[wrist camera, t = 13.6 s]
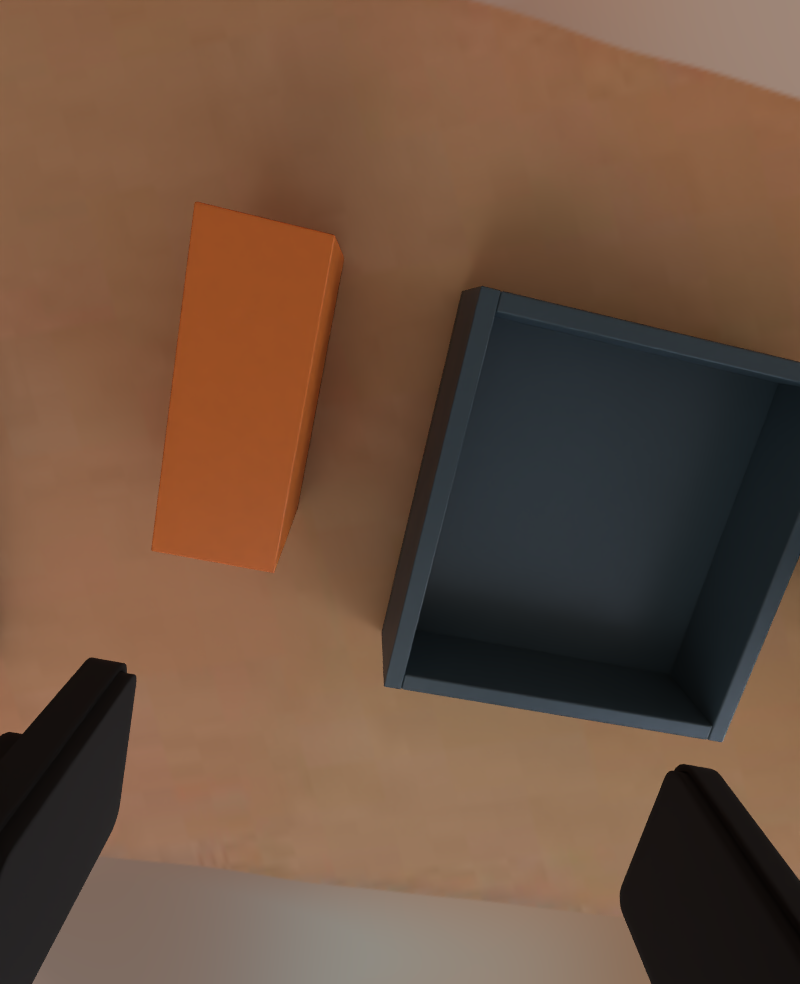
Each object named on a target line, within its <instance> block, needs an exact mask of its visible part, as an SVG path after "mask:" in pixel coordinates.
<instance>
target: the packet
mask: <svg viewBox="0 0 800 984" xmlns="http://www.w3.org/2000/svg"><path fill="white" fill-rule="evenodd" d="M343 262H344V257H343V254H342V252H341V249H340V247H339V244H338V242H337V240H336V237H335V235H333V234H329V233H324V232H320V231H316V230H312V229H308V228H304V227H300V226H296V225H291V224H287V223H283V222H279V221H275V220H271V219H267V218H262V217H258V216H254V215H250V214H246V213H242V212H238V211H234V210H229V209H225V208H221V207H217V206H213V205H209V204H205V203H201V202H195V204H194V212H193V220H192V228H191V236H190V244H189V252H188V260H187V268H186V276H185V284H184V292H183V300H182V308H181V316H180V324H179V332H178V340H177V348H176V356H175V364H174V372H173V380H172V389H171V397H170V405H169V413H168V421H167V429H166V437H165V445H164V453H163V461H162V469H161V477H160V485H159V493H158V501H157V509H156V517H155V525H154V533H153V541H152V551H156V552H161V553H167V554H172V555H178V556H183V557H189V558H194V559H200V560H205V561H211V562H216V563H222V564H227V565H233V566H238V567H244V568H249V569H255V570H260V571H265V572H271V573H274V572H275V569H276V566H277V564H278V561H279V558H280V555H281V553H282V550H283V547H284V544H285V542H286V539H287V536H288V533H289V531H290V528H291V525H292V522H293V520H294V517H295V514H296V511H297V509H298V504H299V498H300V493H301V487H302V482H303V477H304V471H305V466H306V461H307V455H308V450H309V445H310V439H311V434H312V428H313V423H314V418H315V412H316V407H317V402H318V396H319V391H320V386H321V380H322V375H323V369H324V364H325V359H326V353H327V348H328V343H329V337H330V332H331V327H332V321H333V316H334V310H335V305H336V300H337V294H338V289H339V284H340V278H341V273H342V268H343Z"/></svg>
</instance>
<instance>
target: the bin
mask: <svg viewBox="0 0 800 984" xmlns="http://www.w3.org/2000/svg"><path fill="white" fill-rule="evenodd" d="M799 556H800V362H797V361H793V360H789V359H785V358H781V357H776V356H772V355H768V354H764V353H760V352H756V351H751V350H747V349H743V348H739V347H735V346H730V345H726V344H722V343H718V342H714V341H710V340H705V339H701V338H697V337H693V336H689V335H684V334H680V333H676V332H672V331H668V330H664V329H659V328H655V327H651V326H647V325H643V324H638V323H634V322H630V321H626V320H622V319H618V318H613V317H609V316H605V315H601V314H597V313H592V312H588V311H584V310H580V309H576V308H572V307H567V306H563V305H559V304H555V303H551V302H547V301H542V300H538V299H534V298H530V297H526V296H521V295H517V294H513V293H509V292H505V291H500V290H497V289H493V288H488V287H484V286H480V287H477V288H473V289H469V290H465V291H462V294H461V298H460V302H459V306H458V310H457V315H456V319H455V323H454V327H453V332H452V336H451V340H450V344H449V349H448V353H447V357H446V361H445V366H444V370H443V374H442V378H441V383H440V387H439V391H438V395H437V400H436V404H435V408H434V412H433V417H432V421H431V425H430V429H429V434H428V438H427V442H426V446H425V450H424V455H423V459H422V463H421V467H420V472H419V476H418V480H417V484H416V489H415V493H414V497H413V501H412V506H411V510H410V514H409V518H408V523H407V527H406V531H405V535H404V540H403V544H402V548H401V552H400V557H399V561H398V565H397V569H396V574H395V578H394V582H393V586H392V591H391V595H390V599H389V603H388V607H387V612H386V616H385V620H384V624H383V629H382V652H383V675H384V686H385V687H390V688H396V689H401V687H402V689H405V690H411V691H417V692H423V693H429V694H435V695H441V696H447V697H453V698H459V699H465V700H471V701H477V702H483V703H489V704H495V705H501V706H507V707H513V708H519V709H525V710H531V711H537V712H543V713H549V714H555V715H561V716H567V717H573V718H579V719H585V720H591V721H597V722H603V723H610V724H616V725H622V726H628V727H634V728H640V729H646V730H652V731H658V732H664V733H670V734H676V735H682V736H688V737H694V738H700V739H708V740H712V741H718V742H722V741H723V739H724V737H725V735H726V732H727V730H728V727H729V725H730V723H731V720H732V718H733V715H734V713H735V711H736V708H737V706H738V703H739V701H740V698H741V696H742V694H743V691H744V689H745V686H746V684H747V682H748V679H749V677H750V674H751V672H752V669H753V667H754V665H755V662H756V660H757V657H758V655H759V653H760V650H761V648H762V645H763V643H764V640H765V638H766V636H767V633H768V631H769V628H770V626H771V624H772V621H773V619H774V616H775V614H776V612H777V609H778V607H779V604H780V602H781V599H782V597H783V595H784V592H785V590H786V587H787V585H788V583H789V580H790V578H791V575H792V573H793V570H794V568H795V566H796V563H797V561H798V558H799Z"/></svg>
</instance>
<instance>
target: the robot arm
mask: <svg viewBox="0 0 800 984" xmlns="http://www.w3.org/2000/svg"><path fill="white" fill-rule="evenodd" d="M135 688H136V675H134V674H128V673H127V667H126V664H125V663H119V662H114V661H108V660H103V659H97V658H89V659H87V660H86V661H85V662H84V664H83V665H82V666H81V667H80V668H79V669H78V670H77V672H76V673H75V674H74V675H73V676H72V677H71V679H70V680H69V681H68V682H67V683H66V684H65V686H64V687H63V688H62V689H61V690H60V691H59V692H58V694H57V695H56V696H55V697H54V698H53V699H52V701H51V702H50V703H49V704H48V705H47V706H46V708H45V709H44V710H43V711H42V712H41V713H40V714H39V716H38V717H37V718H36V719H35V720H34V721H33V723H32V724H31V725H30V726H29V727H28V728H27V730H26V731H25V732H24V733H23V734H19V733H13V732H7V733H5V734H2V735H1V736H0V984H32V983H33V981H34V979H35V977H36V975H37V973H38V971H39V969H40V967H41V965H42V963H43V962H44V960H45V958H46V956H47V954H48V952H49V950H50V948H51V946H52V944H53V943H54V941H55V939H56V937H57V935H58V933H59V931H60V929H61V927H62V925H63V923H64V921H65V920H66V918H67V916H68V914H69V912H70V910H71V908H72V906H73V904H74V902H75V900H76V899H77V897H78V895H79V893H80V891H81V889H82V887H83V885H84V883H85V881H86V879H87V877H88V876H89V874H90V872H91V870H92V868H93V866H94V864H95V862H96V860H97V859H98V857H99V855H100V853H101V851H102V849H103V847H104V845H105V843H106V841H107V839H108V838H109V836H110V834H111V832H112V829H113V827H114V824H115V822H116V818H117V815H118V811H119V806H120V799H121V792H122V784H123V777H124V770H125V762H126V755H127V747H128V740H129V733H130V725H131V718H132V710H133V703H134V696H135ZM620 905H621V910H622V913H623V916H624V918H625V921H626V923H627V926H628V928H629V930H630V932H631V935H632V938H633V940H634V943H635V945H636V947H637V950H638V952H639V955H640V957H641V960H642V962H643V964H644V967H645V969H646V972H647V974H648V976H649V979H650V981H651V984H800V881H799V879H798V878H797V877H796V875H795V874H794V873H793V871H792V870H791V869H790V867H789V866H788V865H787V863H786V862H785V861H784V859H783V858H782V857H781V855H780V854H779V853H778V851H777V850H776V849H775V847H774V846H773V845H772V843H771V842H770V841H769V839H768V838H767V837H766V835H765V834H764V833H763V831H762V830H761V829H760V827H759V826H758V825H757V823H756V822H755V821H754V819H753V818H752V817H751V815H750V814H749V813H748V811H747V810H746V809H745V807H744V806H743V805H742V803H741V802H740V801H739V799H738V798H737V797H736V795H735V794H734V793H733V791H732V790H731V789H730V787H729V786H728V785H727V783H726V782H725V781H724V779H723V778H722V777H721V775H720V774H719V773H718V772H717V771H715V770H713V769H708V768H703V767H697V766H692V765H686V764H681V765H679V766H678V767H676V769H675V770H674V771H669V772H668V773H667V774H666V776H665V778H664V781H663V783H662V786H661V788H660V791H659V793H658V796H657V798H656V801H655V803H654V806H653V808H652V811H651V813H650V816H649V818H648V821H647V823H646V826H645V828H644V831H643V833H642V836H641V838H640V841H639V843H638V846H637V848H636V851H635V853H634V856H633V858H632V861H631V863H630V866H629V869H628V871H627V874H626V876H625V879H624V881H623V884H622V886H621V890H620Z"/></svg>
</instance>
